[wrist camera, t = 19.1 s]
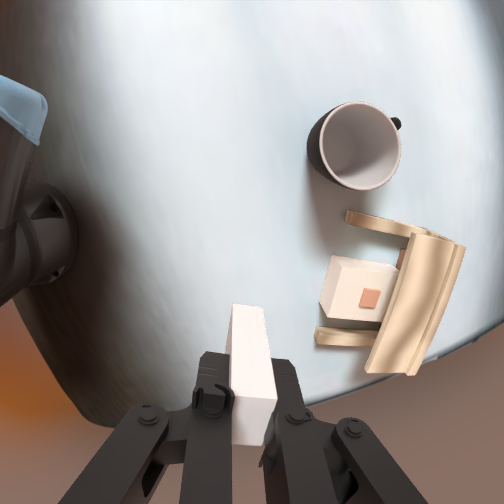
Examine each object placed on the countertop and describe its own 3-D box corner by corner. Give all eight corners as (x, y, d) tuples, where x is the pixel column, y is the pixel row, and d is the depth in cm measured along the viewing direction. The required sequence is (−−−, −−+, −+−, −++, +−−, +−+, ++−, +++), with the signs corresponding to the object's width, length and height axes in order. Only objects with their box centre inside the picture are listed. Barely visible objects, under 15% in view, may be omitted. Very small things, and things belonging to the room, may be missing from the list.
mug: (319, 194, 38) (345, 207, 28) (284, 133, 35) (301, 124, 26) (391, 154, 37) (433, 156, 27) (361, 95, 34) (397, 79, 24)
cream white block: (318, 300, 43) (328, 319, 37) (330, 254, 41) (343, 268, 35) (377, 307, 44) (392, 324, 38) (391, 264, 42) (409, 278, 36)
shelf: (313, 334, 44) (331, 376, 34) (347, 210, 39) (379, 226, 29) (388, 339, 45) (415, 375, 36) (425, 228, 40) (466, 247, 30)
